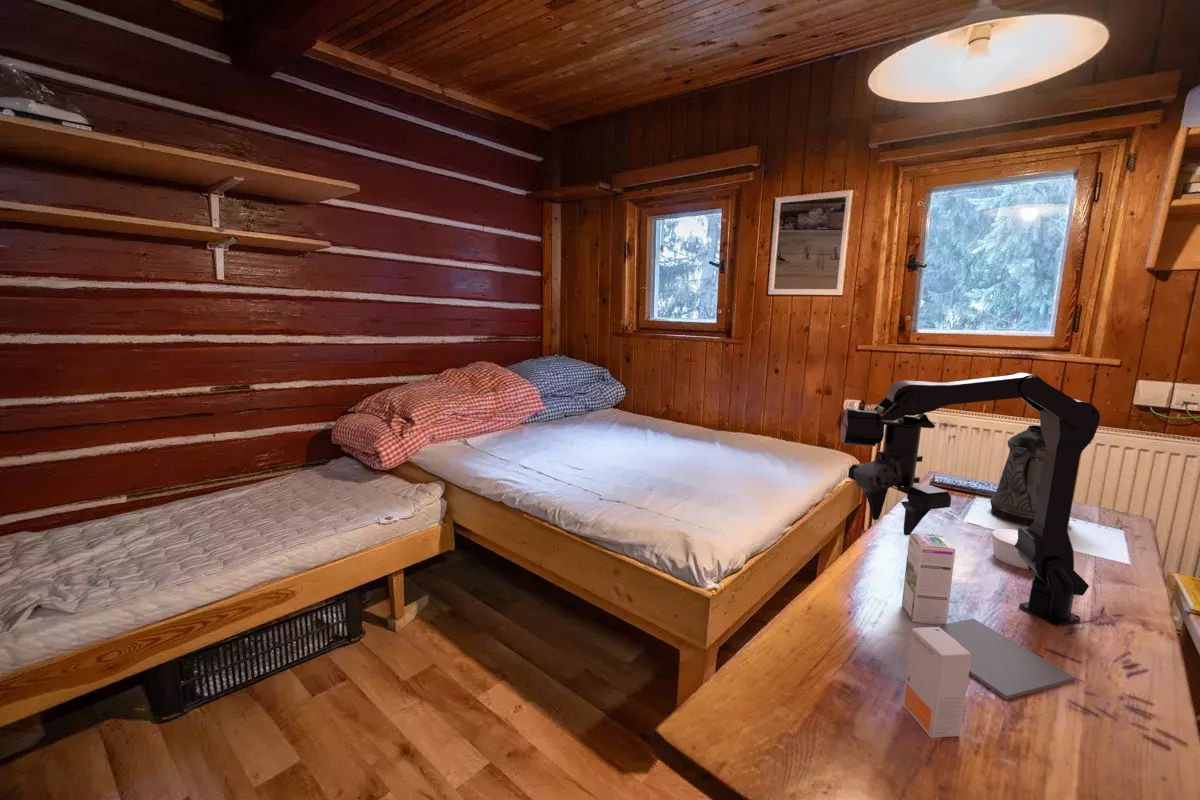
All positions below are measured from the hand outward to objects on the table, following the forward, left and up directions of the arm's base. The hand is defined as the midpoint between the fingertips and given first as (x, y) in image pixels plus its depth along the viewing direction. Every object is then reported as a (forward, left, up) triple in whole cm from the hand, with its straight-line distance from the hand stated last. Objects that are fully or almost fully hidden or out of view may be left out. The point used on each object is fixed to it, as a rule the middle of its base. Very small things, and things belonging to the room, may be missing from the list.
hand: (890, 527), depth 103 cm
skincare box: (+21, +29, -13) cm, 38 cm away
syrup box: (0, +9, -13) cm, 16 cm away
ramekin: (-40, -2, -14) cm, 42 cm away
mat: (0, +21, -13) cm, 25 cm away
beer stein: (-67, -19, -13) cm, 71 cm away
